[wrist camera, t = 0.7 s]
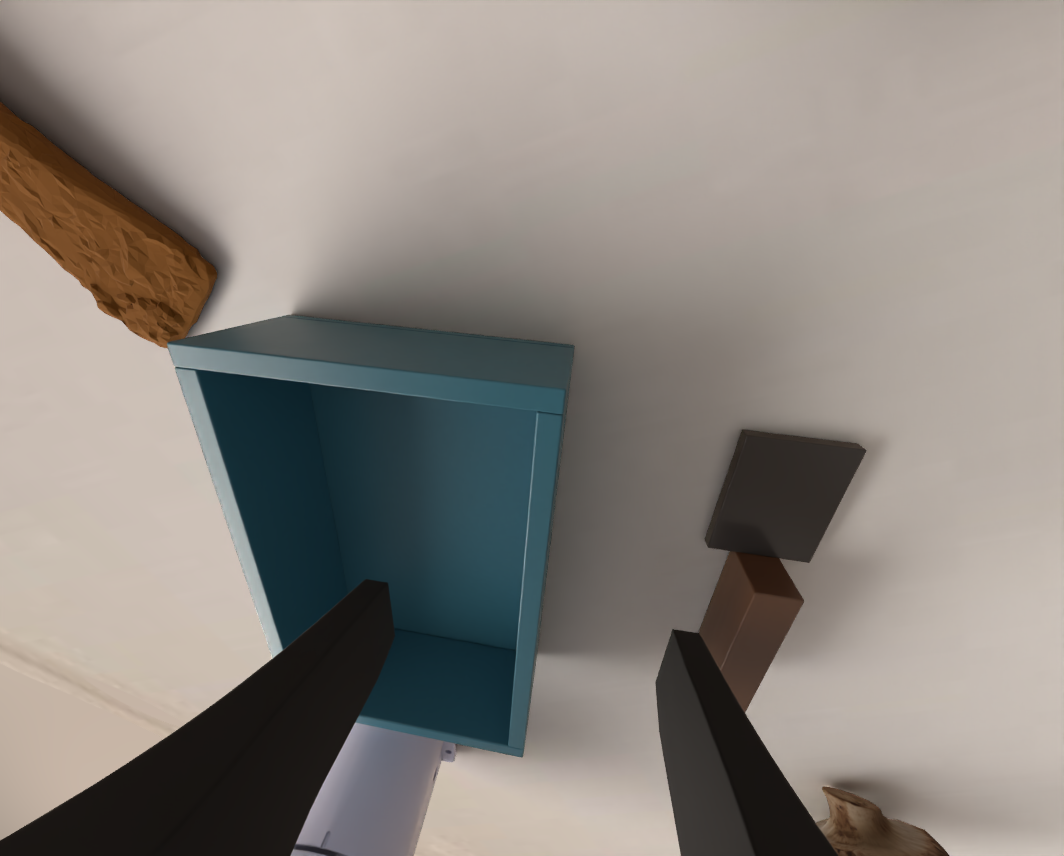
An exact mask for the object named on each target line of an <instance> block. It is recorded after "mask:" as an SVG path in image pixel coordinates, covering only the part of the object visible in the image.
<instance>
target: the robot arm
mask: <svg viewBox="0 0 1064 856" xmlns="http://www.w3.org/2000/svg"><path fill="white" fill-rule="evenodd" d="M394 637H395V631H394V624H393V616H392V609H391V601H390V594H389V586H388V583H387V582H381V581H375V580H369V579H365V580H364V581H362V582H361V583H360V584H359V585H358V586H357V587H356V588H354V589H353V590H352V591H351V592H350V593H349V594H348V595H346V596H345V597H344V598H343V599H342V600H341V601H340V602H339V603H337V604H336V605H335V606H334V607H333V608H332V609H331V610H329V611H328V612H327V613H326V614H325V615H324V616H323V617H321V618H320V619H319V620H318V621H317V622H316V623H314V624H313V625H312V626H311V627H310V628H309V629H307V630H306V631H305V632H304V633H303V634H301V635H300V636H299V637H298V638H297V639H296V640H294V641H293V642H292V643H291V644H290V645H288V646H287V647H286V648H285V649H284V650H282V651H281V652H280V653H279V654H278V655H276V656H275V657H274V658H273V659H271V660H270V661H269V662H268V663H266V664H265V665H264V666H262V667H261V668H260V669H259V670H257V671H256V672H255V673H254V674H252V675H251V676H250V677H248V678H247V679H246V680H245V681H243V682H242V683H241V684H240V685H238V686H237V687H236V688H234V689H233V690H232V691H230V692H229V693H228V694H226V695H225V696H224V697H222V698H221V699H220V700H218V701H217V702H216V703H214V704H213V705H212V706H210V707H209V708H207V709H206V710H205V711H203V712H202V713H201V714H199V715H198V716H196V717H195V718H193V719H192V720H191V721H189V722H188V723H186V724H185V725H184V726H182V727H181V728H179V729H178V730H176V731H175V732H174V733H172V734H171V735H169V736H168V737H166V738H165V739H163V740H162V741H160V742H159V743H157V744H156V745H154V746H153V747H151V748H150V749H148V750H147V751H145V752H144V753H142V754H141V755H139V756H138V757H136V758H135V759H133V760H132V761H130V762H129V763H127V764H126V765H124V766H122V767H121V768H119V769H118V770H116V771H115V772H113V773H112V774H110V775H109V776H107V777H105V778H104V779H102V780H101V781H99V782H97V783H96V784H94V785H93V786H91V787H89V788H88V789H86V790H84V791H83V792H81V793H79V794H78V795H76V796H74V797H73V798H71V799H69V800H68V801H66V802H64V803H63V804H61V805H59V806H58V807H56V808H54V809H53V810H51V811H49V812H48V813H46V814H44V815H43V816H41V817H39V818H38V819H36V820H34V821H33V822H31V823H29V824H28V825H26V826H24V827H23V828H21V829H19V830H18V831H16V832H14V833H13V834H11V835H9V836H7V837H6V838H4V839H2V840H0V856H414V853H415V849H416V846H417V842H418V839H419V836H420V832H421V829H422V825H423V822H424V819H425V815H426V812H427V808H428V805H429V802H430V798H431V795H432V791H433V788H434V785H435V781H436V778H437V774H438V771H439V767H440V764H441V761H447V762H453V761H455V757H456V744H455V743H450V742H445V741H441V740H436V739H431V738H426V737H422V736H417V735H412V734H407V733H402V732H398V731H393V730H388V729H383V728H379V727H374V726H369V725H364V724H359V723H355V722H356V720H357V718H358V716H359V714H360V713H361V711H362V709H363V707H364V705H365V703H366V701H367V699H368V697H369V695H370V693H371V691H372V689H373V687H374V685H375V684H376V682H377V680H378V677H379V675H380V673H381V670H382V668H383V665H384V663H385V660H386V658H387V655H388V653H389V650H390V648H391V645H392V643H393V640H394ZM656 695H657V709H658V720H659V732H660V738H661V744H662V750H663V756H664V761H665V767H666V773H667V779H668V784H669V790H670V796H671V801H672V807H673V813H674V818H675V824H676V830H677V835H678V841H679V847H680V852H681V856H839V855H838V854H837V852H836V851H835V850H834V848H833V847H832V845H831V844H830V843H829V841H828V840H827V838H826V837H825V836H824V834H823V833H822V831H821V830H820V828H819V827H818V826H817V824H816V823H815V821H814V820H813V818H812V817H811V815H810V814H809V812H808V811H807V810H806V808H805V807H804V805H803V804H802V802H801V801H800V799H799V798H798V796H797V795H796V793H795V792H794V790H793V789H792V787H791V786H790V784H789V783H788V781H787V780H786V778H785V777H784V775H783V773H782V772H781V770H780V769H779V767H778V766H777V764H776V763H775V761H774V759H773V758H772V756H771V755H770V753H769V752H768V750H767V748H766V747H765V745H764V743H763V742H762V740H761V739H760V737H759V735H758V734H757V732H756V731H755V729H754V727H753V726H752V724H751V722H750V721H749V719H748V718H747V716H746V714H745V713H744V711H743V709H742V707H741V706H740V704H739V702H738V701H737V699H736V697H735V696H734V694H733V692H732V690H731V689H730V687H729V685H728V683H727V682H726V680H725V678H724V676H723V675H722V673H721V671H720V669H719V667H718V666H717V664H716V662H715V660H714V658H713V657H712V655H711V653H710V651H709V649H708V647H707V646H706V644H705V642H704V640H703V638H702V637H701V636H700V634H698V633H692V632H686V631H680V630H674V629H673V630H672V633H671V636H670V639H669V642H668V645H667V649H666V652H665V655H664V658H663V661H662V664H661V667H660V670H659V673H658V676H657V679H656Z"/></svg>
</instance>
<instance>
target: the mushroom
mask: <svg viewBox="0 0 1064 856" xmlns="http://www.w3.org/2000/svg"><path fill="white" fill-rule="evenodd" d="M822 790H823V792H824V794H825V796H826V798H827V801H828V804H829V808H830V818H828V819H825V820H821V821H819V822H816V824H817V826H818V827H819V828H820V830H821V831H822V833H823V834H824V836H825V837H826V838H827V840H828V841H829V843H830V844H831V845H832V847H833V848H834V850H835V851H836V852H837V854H838V855H839V856H949V855H948V853H947V852H946V851H945V849H944V848H943V847H942V846H941V845H940V844H939V843H938V842H937V841H936V840H935V839H934V838H933V837H932V836H931V835H929V834H928V833H927V832H926V831H925V830H923V829H921V828H918V827H916V826H913V825H910V824H908V823H905V822H903V821H900V820H896V819H888V818H886V817H885V816H883V814H882V812H881V810H880V808H879V807H877V806H876V805H875V804H873V803H872V802H870V801H868V800H866V799H864V798H861V797H859V796H856V795H854V794H851V793H848V792H845V791H842V790H839V789H835V788H830V787H823V788H822Z"/></svg>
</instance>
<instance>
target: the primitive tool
mask: <svg viewBox="0 0 1064 856" xmlns="http://www.w3.org/2000/svg"><path fill="white" fill-rule="evenodd" d="M0 211H1V212H3V213H4V214H5V215H6V216H7V217H8V218H9V219H10V220H12V221H13V222H14V223H16V224H17V225H19V226H20V227H21V228H22V229H23V230H24V231H25V232H26V233H27V234H28V235H29V236H30V237H31V238H32V239H33V240H34V241H35V242H36V243H37V244H38V245H39V246H41V247H42V248H43V249H44V250H45V251H46V252H47V253H48V254H49V255H50V256H52V257H53V258H54V259H55V260H56V261H57V263H58V264H59V265H60V266H61V267H62V268H63V269H64V270H66V271H67V272H69V273H70V274H72V275H73V276H74V277H75V278H76V279H78V280H79V281H80V283H81V285H82V286H83V287H85V288H87V289H88V290H90V291H91V292H92V294H93V296H94V298H95V300H96V301H97V306H98V308H99V309H100V310H102V311H103V312H104V313H106V314H108V315H110V316H112V317H114V318H117V319H119V320H121V321H122V322H123V323H124V324H125V325H126V326H127V327H128V329H129V330H130V331H132V332H133V333H135V334H137V335H138V336H140V337H142V338H144V339H146V340H148V341H151V342H154V343H155V344H157V345H158V346H160V347H164V348H168V346H167V343H168V342H171V341H176V340H180V339H185V338H186V336H187V333H188V331H189V330H190V328H191V326H192V325H193V324H195V323H196V322H197V320H198V318H199V315H200V313H201V311H202V309H203V307H204V304H205V303H206V301H207V299H208V298H209V296H210V293H211V291H212V288H213V285H214V283H215V280H216V279H217V272H216V270H215V268H214V266H213V265H212V264H210V263H209V262H207V261H206V260H205V259H204V258H202V257H201V255H200V253H199V251H198V250H197V249H196V248H194V247H193V246H191V245H189V244H188V243H187V242H186V241H185V240H184V239H183V238H182V237H181V236H179V235H178V234H177V233H175V232H174V231H172V230H171V229H170V228H168V227H167V226H165V225H164V224H162V223H161V222H159V221H158V220H157V219H155V218H154V217H152V216H151V215H150V214H148V213H147V212H146V211H144V210H143V209H141V208H140V207H138V206H137V205H135V204H134V203H132V202H131V201H129V200H128V199H126V198H125V197H124V196H123V195H121V194H120V193H118V192H117V191H116V190H114V189H113V188H111V187H110V186H108V185H107V184H105V183H104V182H102V181H101V180H99V179H98V178H96V177H94V176H93V175H92V174H91V173H90V172H89V171H88V170H87V169H85V168H84V167H83V166H81V165H80V164H79V163H77V162H76V161H75V160H74V159H72V158H71V157H70V156H68V155H67V154H66V153H64V152H63V151H62V150H60V149H59V148H58V147H57V146H55V145H54V144H53V143H52V142H50V141H49V140H48V139H47V138H46V137H45V136H44V135H43V134H41V133H40V132H39V131H38V130H36V129H35V128H34V127H33V126H31V125H29V124H27V123H25V122H24V121H22V120H20V119H19V118H18V117H17V116H16V115H15V114H14V113H13V112H11V111H10V110H9V109H8V108H7V107H6V106H5V105H4V104H3V103H1V102H0Z"/></svg>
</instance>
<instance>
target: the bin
mask: <svg viewBox="0 0 1064 856" xmlns="http://www.w3.org/2000/svg"><path fill="white" fill-rule="evenodd" d="M167 346H168V349H169V352H170V355H171V358H172V361H173V364H174V366H175V370H176V373H177V376H178V379H179V382H180V385H181V388H182V391H183V394H184V397H185V400H186V403H187V406H188V409H189V412H190V415H191V418H192V421H193V424H194V427H195V430H196V433H197V436H198V439H199V442H200V445H201V448H202V451H203V454H204V457H205V460H206V463H207V466H208V469H209V472H210V475H211V478H212V481H213V483H214V486H215V489H216V492H217V495H218V498H219V501H220V504H221V507H222V510H223V513H224V516H225V519H226V522H227V525H228V528H229V531H230V534H231V537H232V540H233V543H234V546H235V549H236V552H237V555H238V558H239V561H240V564H241V567H242V570H243V573H244V576H245V579H246V582H247V585H248V588H249V591H250V594H251V597H252V599H253V602H254V605H255V608H256V611H257V614H258V617H259V620H260V623H261V626H262V629H263V632H264V635H265V638H266V641H267V644H268V647H269V650H270V653H271V656H272V659H273V658H274V657H275V656H276V655H278V654H279V653H280V652H281V651H282V650H284V649H285V648H286V647H287V646H288V645H290V644H291V643H292V642H293V641H294V640H296V639H297V638H298V637H299V636H300V635H301V634H303V633H304V632H305V631H306V630H307V629H309V628H310V627H311V626H312V625H313V624H314V623H316V622H317V621H318V620H319V619H320V618H321V617H323V616H324V615H325V614H326V613H327V612H328V611H329V610H331V609H332V608H333V607H334V606H335V605H336V604H337V603H339V602H340V601H341V600H342V599H343V598H344V597H345V596H346V595H348V594H349V593H350V592H351V591H352V590H353V589H354V588H356V587H357V586H358V585H359V584H360V583H361V582H362V581H364V580H365V579H369V580H375V581H381V582H387V583H388V586H389V594H390V601H391V609H392V616H393V624H394V631H395V637H394V640H393V643H392V645H391V648H390V650H389V653H388V655H387V658H386V660H385V663H384V665H383V668H382V670H381V673H380V675H379V677H378V680H377V682H376V684H375V685H374V687H373V689H372V691H371V693H370V695H369V697H368V699H367V701H366V703H365V705H364V707H363V709H362V711H361V713H360V714H359V716H358V718H357V720H356V722H355V723H359V724H364V725H369V726H374V727H379V728H383V729H388V730H393V731H398V732H402V733H407V734H412V735H417V736H422V737H426V738H431V739H436V740H441V741H445V742H450V743H455V744H460V745H464V746H469V747H474V748H479V749H484V750H488V751H493V752H498V753H503V754H507V755H512V756H517V757H523V754H524V747H525V739H526V732H527V725H528V717H529V710H530V703H531V695H532V688H533V681H534V673H535V666H536V659H537V651H538V643H539V634H540V626H541V618H542V610H543V601H544V593H545V585H546V577H547V569H548V560H549V552H550V544H551V536H552V527H553V519H554V511H555V503H556V495H557V486H558V478H559V470H560V462H561V454H562V445H563V437H564V429H565V421H566V412H567V404H568V396H569V388H570V380H571V371H572V363H573V355H574V345H569V344H559V343H550V342H541V341H531V340H522V339H512V338H503V337H493V336H484V335H475V334H465V333H456V332H446V331H437V330H427V329H418V328H409V327H399V326H390V325H380V324H371V323H361V322H352V321H342V320H333V319H324V318H314V317H305V316H295V315H286V316H282V317H277V318H273V319H268V320H264V321H259V322H255V323H251V324H246V325H242V326H237V327H233V328H229V329H224V330H220V331H215V332H211V333H207V334H202V335H198V336H193V337H189V338H185V339H180V340H176V341H171V342H168V343H167Z"/></svg>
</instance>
